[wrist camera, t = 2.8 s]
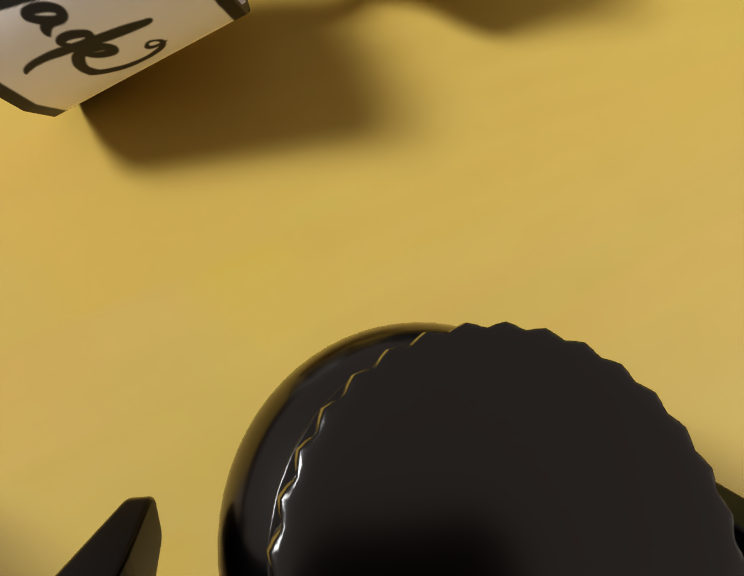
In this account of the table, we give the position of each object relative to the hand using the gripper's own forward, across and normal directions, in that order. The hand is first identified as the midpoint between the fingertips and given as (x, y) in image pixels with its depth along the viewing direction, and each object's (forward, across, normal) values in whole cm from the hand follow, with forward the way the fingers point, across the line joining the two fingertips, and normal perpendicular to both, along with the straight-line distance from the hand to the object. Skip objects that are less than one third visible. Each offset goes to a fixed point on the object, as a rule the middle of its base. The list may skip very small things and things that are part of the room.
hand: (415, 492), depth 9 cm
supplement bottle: (+5, 0, +6) cm, 8 cm away
